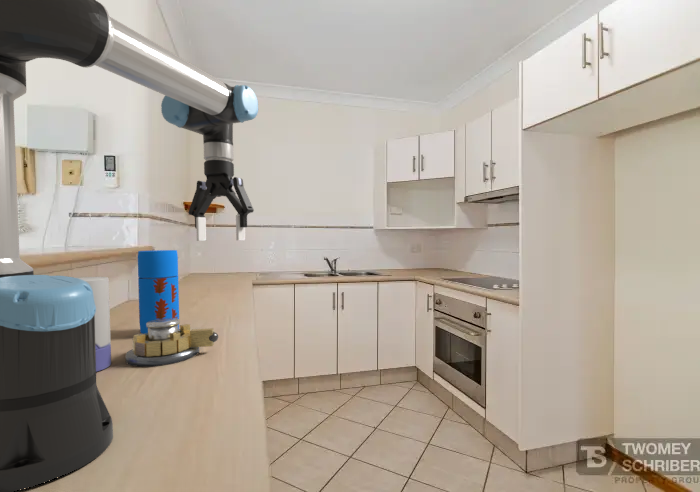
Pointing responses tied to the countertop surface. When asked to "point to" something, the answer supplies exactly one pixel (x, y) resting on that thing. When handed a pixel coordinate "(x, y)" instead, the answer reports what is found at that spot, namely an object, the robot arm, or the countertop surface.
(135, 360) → the base
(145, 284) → the thermos
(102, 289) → the container
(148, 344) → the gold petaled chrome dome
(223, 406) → the countertop surface
